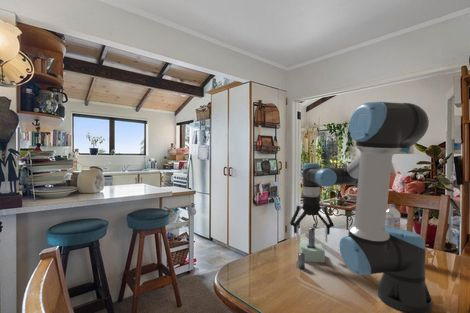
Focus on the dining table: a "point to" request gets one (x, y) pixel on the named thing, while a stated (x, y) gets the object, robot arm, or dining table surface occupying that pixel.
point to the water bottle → (392, 217)
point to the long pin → (312, 237)
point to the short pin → (301, 260)
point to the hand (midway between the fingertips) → (311, 240)
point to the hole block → (313, 253)
